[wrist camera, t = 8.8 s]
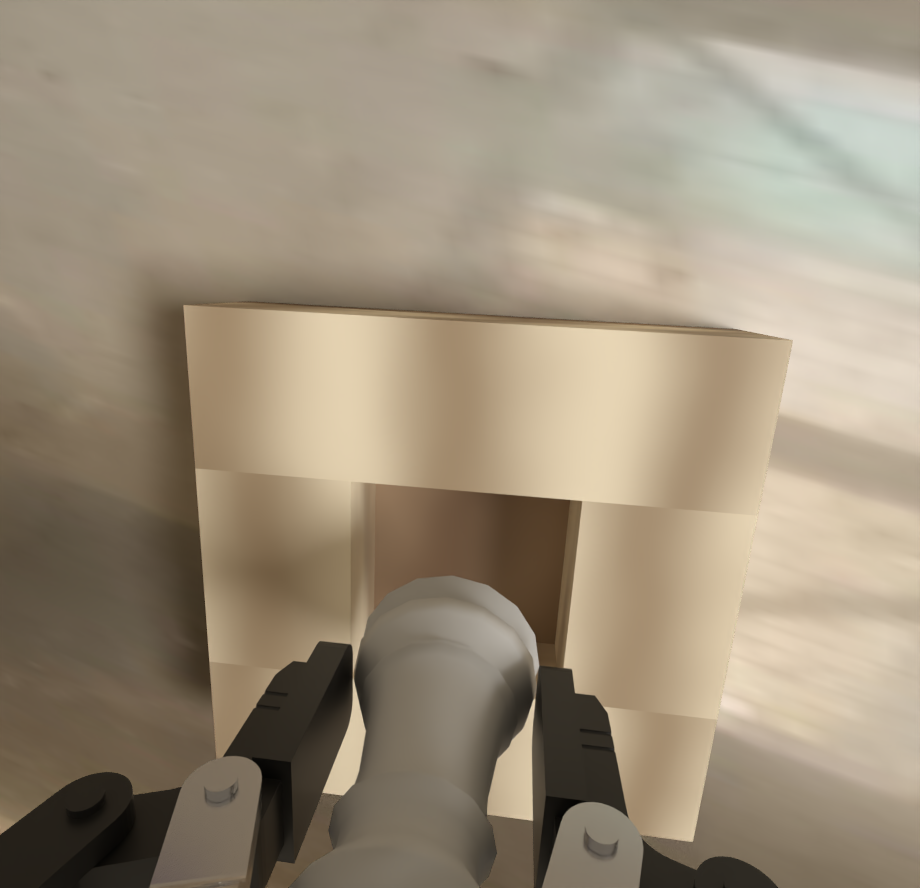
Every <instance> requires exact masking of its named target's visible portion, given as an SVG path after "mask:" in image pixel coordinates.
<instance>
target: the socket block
mask: <svg viewBox="0 0 920 888" xmlns="http://www.w3.org/2000/svg"><path fill="white" fill-rule="evenodd" d="M183 308H184V322H185V336H186V349H187V363H188V376H189V390H190V404H191V417H192V431H193V445H194V458H195V472H196V486H197V499H198V513H199V527H200V540H201V554H202V567H203V581H204V595H205V608H206V622H207V636H208V649H209V663H210V677H211V690H212V704H213V718H214V731H215V745H216V759H218V758H221V757H223V756H224V754H225V753H226V751H227V749H228V748H229V746H230V745H231V743H232V742H233V740H234V738H235V737H236V735H237V734H238V732H239V731H240V729H241V728H242V726H243V724H244V723H245V721H246V720H247V718H248V717H249V715H250V713H251V712H252V710H253V709H254V708H256V704H257V702H258V701H259V699H260V698H261V696H262V695H263V694H264V693H265V690H266V688H267V687H268V685H269V684H270V682H271V681H272V679H273V677H274V676H275V674H277V673H278V672H279V671H281V670H282V669H283V668H285V667H286V666H287V665H289V664H290V663H291V662H293V661H299V662H307V661H308V659H309V657H310V655H311V654H312V652H313V650H314V649H315V647H316V645H317V644H318V642H319V641H325V642H335V643H344V644H351V645H352V648H353V704H352V712H351V718H350V722H349V726H348V729H347V732H346V734H345V737H344V739H343V742H342V744H341V747H340V749H339V752H338V754H337V757H336V759H335V762H334V764H333V767H332V770H331V772H330V775H329V777H328V780H327V782H326V785H325V787H324V790H323V792H322V793H329V794H336V795H344V794H345V793H346V792H347V791H348V790H349V789H350V787H351V786H352V785H354V784H355V781H356V779H357V776H358V773H359V768H360V763H361V757H362V751H363V745H364V739H365V734H366V730H365V726H364V722H363V717H362V713H361V710H360V705H359V701H358V696H357V692H356V687H355V683H354V668H355V664H356V659H357V655H358V651H359V646H360V642H361V639H362V638H363V637H364V633H365V628H366V624H367V620H368V617H369V616H370V615H371V614H372V612H373V611H374V610H375V609H376V607H377V606H378V605H379V604H380V602H381V601H382V600H383V599H384V597H385V596H386V595H387V594H388V593H390V592H392V591H394V590H396V589H398V588H400V587H402V586H404V585H406V584H408V583H410V582H412V581H414V580H416V579H418V578H430V577H441V576H456V577H460V578H464V579H467V580H471V581H475V582H478V583H482V584H485V585H488V586H490V587H491V588H493V589H494V590H495V591H497V592H498V593H499V594H501V595H502V596H504V597H505V598H506V599H508V600H509V601H511V602H512V603H513V604H515V605H516V606H517V607H518V608H519V610H520V612H521V613H522V615H523V616H524V618H525V620H526V621H527V623H528V624H529V626H530V628H531V629H532V631H533V632H534V634H535V638H536V646H537V653H538V660H539V666H540V665H541V666H550V667H559V668H568V669H572V673H573V681H574V689H575V693H578V694H586V695H595V696H596V698H597V699H598V700H599V702H600V703H601V705H602V706H603V707H604V709H605V710H606V711H607V713H608V717H609V722H610V727H611V732H612V733H611V736H612V737H613V742H614V748H615V753H616V758H617V763H618V768H619V773H620V778H621V783H622V788H623V794H624V799H625V804H626V809H627V813H628V817H629V819H630V820H631V821H632V823H633V824H634V825H635V827H636V828H637V830H638V832H639V833H640V835H645V836H652V837H660V838H668V839H675V840H683V841H690V842H693V838H694V833H695V828H696V823H697V818H698V813H699V808H700V803H701V798H702V793H703V788H704V783H705V778H706V773H707V768H708V763H709V758H710V753H711V748H712V743H713V738H714V733H715V728H716V723H717V718H718V713H719V708H720V703H721V698H722V693H723V688H724V683H725V678H726V673H727V668H728V663H729V658H730V653H731V648H732V643H733V638H734V633H735V628H736V623H737V618H738V613H739V608H740V603H741V598H742V593H743V588H744V583H745V578H746V573H747V568H748V563H749V558H750V553H751V548H752V543H753V538H754V533H755V528H756V523H757V518H758V513H759V507H760V502H761V497H762V492H763V487H764V482H765V477H766V472H767V467H768V462H769V457H770V452H771V447H772V442H773V437H774V432H775V427H776V422H777V417H778V412H779V407H780V402H781V397H782V392H783V387H784V382H785V377H786V372H787V367H788V362H789V357H790V352H791V347H792V342H793V340H788V339H783V338H778V337H773V336H768V335H763V334H758V333H752V332H747V331H742V330H737V329H722V328H704V327H686V326H669V325H651V324H634V323H616V322H599V321H581V320H564V319H546V318H528V317H511V316H493V315H476V314H458V313H441V312H423V311H406V310H388V309H370V308H353V307H335V306H318V305H300V304H283V303H265V302H232V303H213V304H195V305H183ZM538 670H539V668H538ZM537 679H538V671H537V674H536V685H537ZM535 699H536V694H535V697H534V700H533V703H532V706H531V709H530V712H529V715H528V718H527V721H526V723H525V725H524V728H523V729H522V730H521V731H520V733H519V734H518V735H517V736H516V737H515V738H514V739H513V740H512V741H511V744H510V747H509V748H508V749H507V750H506V751H505V752H504V753H503V754H502V755H501V756H500V757H499V758H498V759H497V762H496V766H495V771H494V775H493V779H492V784H491V788H490V792H489V796H488V805H487V815H494V816H502V817H509V818H517V819H525V820H532V821H533V795H532V732H533V719H534V709H535Z"/></svg>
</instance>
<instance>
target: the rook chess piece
mask: <svg viewBox="0 0 920 888" xmlns="http://www.w3.org/2000/svg"><path fill="white" fill-rule="evenodd" d="M538 668H539V660H538V653H537V646H536V638H535V634H534V632H533V631H532V629H531V628H530V626H529V624H528V623H527V621H526V620H525V618H524V616H523V615H522V613H521V612H520V610H519V608H518V607H517V606H516V605H515V604H513V603H512V602H511V601H509V600H508V599H506V598H505V597H504V596H502V595H501V594H499V593H498V592H497V591H495V590H494V589H493V588H491V587H490V586H488V585H485V584H482V583H478V582H475V581H471V580H467V579H464V578H460V577H456V576H441V577H430V578H418V579H416V580H414V581H412V582H410V583H408V584H406V585H404V586H402V587H400V588H398V589H396V590H394V591H392V592H390V593H388V594H387V595H386V596H385V597H384V599H383V600H382V601H381V602H380V604H379V605H378V606H377V607H376V609H375V610H374V611H373V612H372V614H371V615H370V616H369V617H368V620H367V624H366V628H365V633H364V637H363V638H362V639H361V642H360V646H359V651H358V655H357V659H356V664H355V668H354V683H355V687H356V692H357V696H358V701H359V705H360V710H361V713H362V717H363V722H364V726H365V730H366V734H365V739H364V745H363V751H362V757H361V763H360V768H359V773H358V776H357V779H356V781H355V784H354V785H352V786H351V787H350V789H349V790H348V791H347V792H346V793H345V794H344V795H343V796H342V797H341V799H340V800H339V801H338V802H337V803H336V804H335V805H334V809H333V813H332V817H331V822H330V826H329V830H328V831H329V835H330V839H331V843H332V846H333V850H332V851H331V852H329V853H328V854H326V855H324V856H323V857H321V858H319V859H318V860H316V861H315V862H313V863H311V864H310V865H309V866H308V867H307V868H306V869H305V870H304V871H303V872H302V874H301V875H300V876H299V877H298V878H297V879H296V880H295V881H294V882H293V883H292V884H291V886H290V887H289V888H480V887H479V886H480V885H481V884H482V883H483V882H484V881H485V880H486V879H487V878H488V877H489V874H490V871H491V868H492V865H493V862H494V860H495V857H496V854H497V852H496V846H495V840H494V834H493V828H492V825H491V824H490V822H489V821H488V819H487V805H488V796H489V792H490V788H491V784H492V779H493V775H494V771H495V766H496V762H497V759H498V758H499V757H500V756H501V755H502V754H503V753H504V752H505V751H506V750H507V749H508V748H509V747H510V744H511V741H512V740H513V739H514V738H515V737H516V736H517V735H518V734H519V733H520V731H521V730H522V729H523V728H524V725H525V723H526V721H527V718H528V715H529V712H530V709H531V706H532V703H533V700H534V697H535V694H536V689H537V685H536V674H537V671H538Z"/></svg>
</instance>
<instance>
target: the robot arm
mask: <svg viewBox="0 0 920 888" xmlns="http://www.w3.org/2000/svg"><path fill="white" fill-rule="evenodd" d="M352 704H353V648H352V645H351V644H344V643H335V642H325V641H319V642H318V644H317V645H316V647H315V649H314V650H313V652H312V654H311V655H310V657H309V659H308V661H307V662H299V661H293V662H291V663H290V664H289V665H287V666H286V667H285V668H283V669H282V670H281V671H279V672H278V673H277V674H275V676H274V677H273V679H272V681H271V682H270V684H269V685H268V687H267V688H266V690H265V693H264V694H263V695H262V696H261V698H260V699H259V701H258V702H257V704H256V708H254V709H253V710H252V712H251V713H250V715H249V717H248V718H247V720H246V721H245V723H244V724H243V726H242V728H241V729H240V731H239V732H238V734H237V735H236V737H235V738H234V740H233V742H232V743H231V745H230V746H229V748H228V749H227V751H226V753H225V754H224V756H223V757H221V758H218V759H215V760H212V761H210V762H207V763H206V764H204V765H202V766H200V767H199V768H198V769H196V770H195V771H194V772H193V773H192V774H190V776H189V777H188V778H187V779H186V781H185V782H184V784H183V785H182V787H179V788H176V789H171V790H165V791H158V792H152V793H145V794H138V795H133V789H132V785H131V782H130V781H129V780H128V778H126V777H125V776H123V775H121V774H118V773H112V772H104V773H96V774H92V775H88V776H85V777H83V778H80V779H78V780H76V781H74V782H72V783H70V784H68V785H66V786H65V787H64V788H62V789H61V790H59V791H58V792H57V793H55V794H54V795H53V796H51V797H50V798H49V799H47V800H46V801H45V802H43V803H42V804H41V805H39V806H38V807H37V808H35V809H34V810H33V811H31V812H30V813H29V814H27V815H26V816H25V817H23V818H22V819H21V820H19V821H18V822H17V823H15V824H14V825H13V826H11V827H10V828H9V829H7V830H6V831H5V832H3V833H2V834H1V835H0V888H267V882H268V880H269V878H270V875H271V873H272V871H273V868H274V866H275V864H276V861H281V862H288V863H295V860H296V858H297V855H298V853H299V850H300V848H301V845H302V843H303V840H304V838H305V835H306V833H307V830H308V827H309V825H310V822H311V820H312V817H313V815H314V812H315V810H316V807H317V805H318V802H319V800H320V797H321V795H322V792H323V790H324V787H325V785H326V782H327V780H328V777H329V775H330V772H331V770H332V767H333V764H334V762H335V759H336V757H337V754H338V752H339V749H340V747H341V744H342V742H343V739H344V737H345V734H346V732H347V729H348V726H349V722H350V718H351V712H352ZM611 733H612V732H611V727H610V722H609V717H608V713H607V711H606V710H605V709H604V707H603V706H602V705H601V703H600V702H599V700H598V699H597V698H596V696H595V695H586V694H578V693H575V689H574V681H573V673H572V669H568V668H559V667H550V666H541V665H540V666H539V670H538V679H537V689H536V699H535V709H534V719H533V732H532V795H533V857H534V888H778V887H777V886H776V885H775V884H774V883H773V882H772V881H771V880H770V879H769V878H768V877H767V876H766V875H765V874H764V873H762V872H761V871H760V870H758V869H757V868H755V867H754V866H752V865H750V864H748V863H746V862H743V861H741V860H738V859H735V858H731V857H723V856H722V857H713V858H709V859H708V860H706V861H704V862H703V863H702V864H701V865H700V866H699V868H698V869H697V870H695V869H692V868H690V867H688V866H685V865H683V864H681V863H678V862H676V861H674V860H671V859H669V858H667V857H665V856H663V855H662V854H660V853H658V852H657V851H655V850H654V849H653V848H651V847H650V846H649V845H648V844H647V843H646V842H645V841H644V840H643V839H642V838H641V836H640V833H639V832H638V830H637V828H636V827H635V825H634V824H633V823H632V821H631V820H630V819H629V817H628V813H627V809H626V804H625V799H624V794H623V788H622V783H621V778H620V773H619V768H618V763H617V758H616V753H615V748H614V742H613V737H612V736H611Z"/></svg>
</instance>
